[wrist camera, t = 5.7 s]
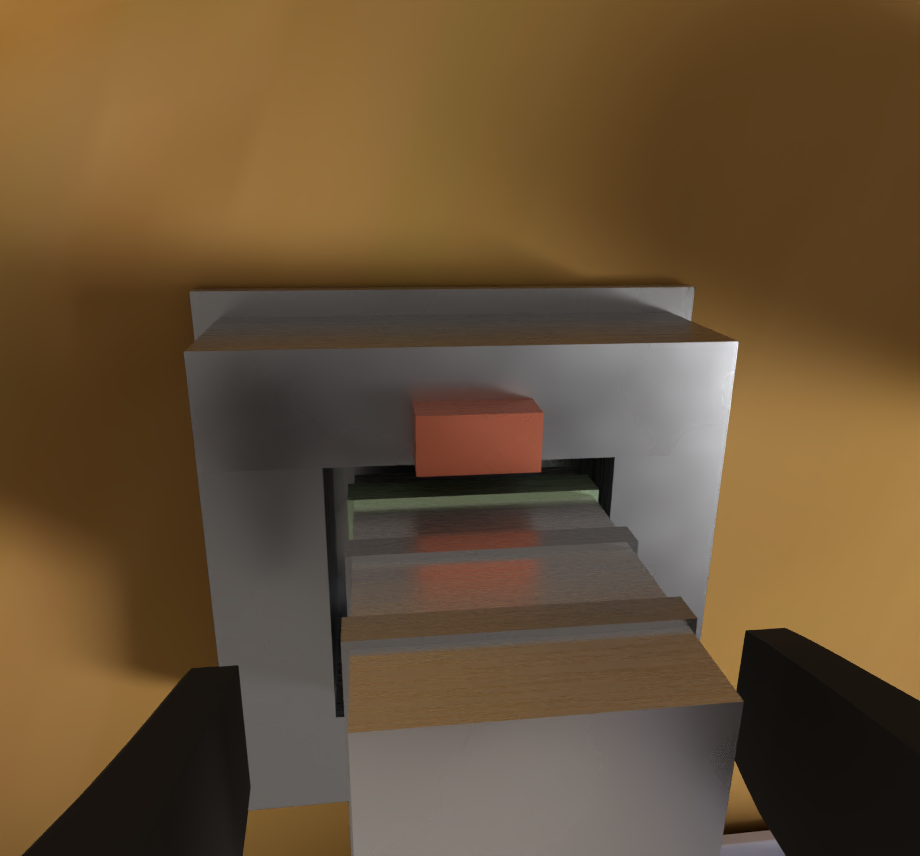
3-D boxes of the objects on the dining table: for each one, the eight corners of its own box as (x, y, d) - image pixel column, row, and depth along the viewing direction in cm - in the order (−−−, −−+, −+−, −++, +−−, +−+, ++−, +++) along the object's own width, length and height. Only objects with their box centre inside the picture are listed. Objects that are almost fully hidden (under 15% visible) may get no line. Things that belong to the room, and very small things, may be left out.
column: (577, 461, 14) (754, 693, 8) (564, 653, 15) (707, 985, 9) (348, 469, 13) (336, 724, 7) (356, 668, 15) (353, 1030, 8)
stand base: (686, 284, 16) (797, 320, 12) (645, 683, 19) (721, 819, 15) (193, 288, 14) (129, 329, 10) (237, 715, 17) (202, 870, 14)
